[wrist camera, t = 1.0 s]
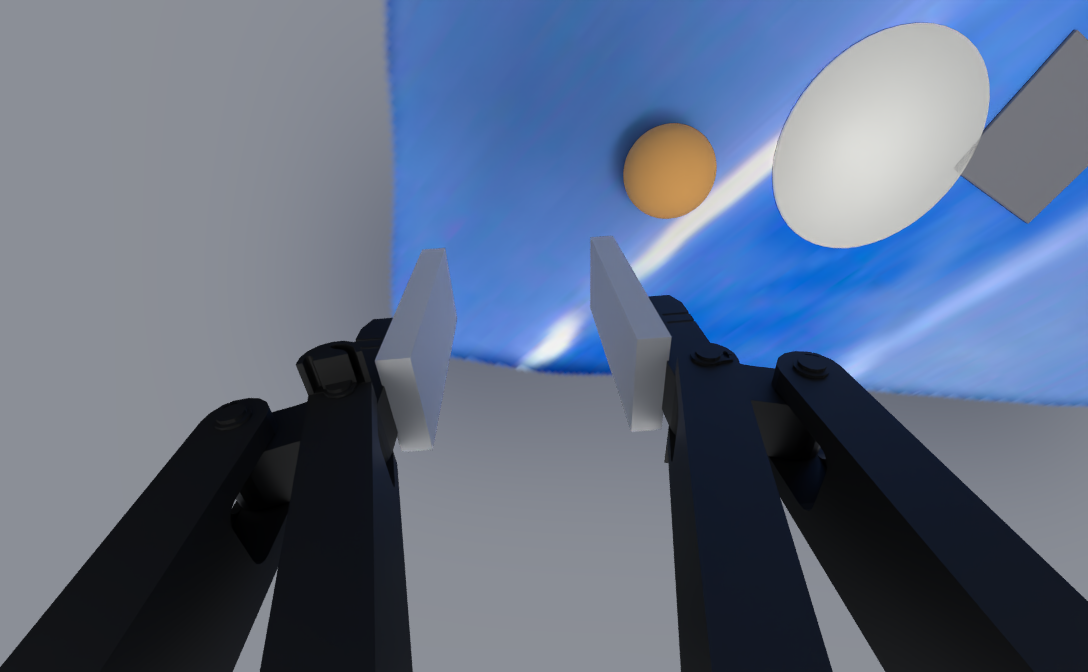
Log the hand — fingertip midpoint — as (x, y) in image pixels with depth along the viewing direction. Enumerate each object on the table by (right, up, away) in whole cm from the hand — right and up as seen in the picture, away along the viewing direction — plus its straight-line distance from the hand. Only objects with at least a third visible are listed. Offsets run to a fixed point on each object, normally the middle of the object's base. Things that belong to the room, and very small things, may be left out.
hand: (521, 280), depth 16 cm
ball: (+8, +8, +12) cm, 17 cm away
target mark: (+23, +11, +15) cm, 30 cm away
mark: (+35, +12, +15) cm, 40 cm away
